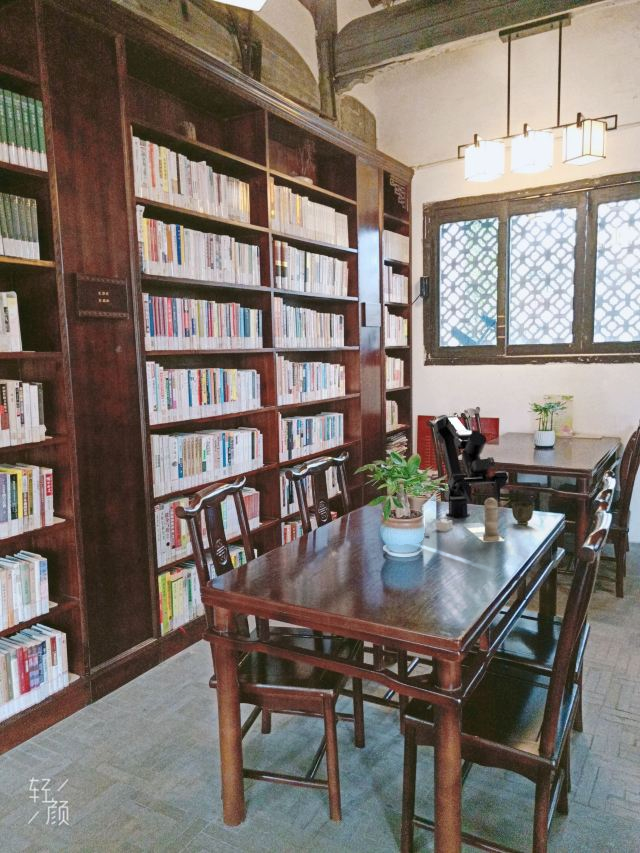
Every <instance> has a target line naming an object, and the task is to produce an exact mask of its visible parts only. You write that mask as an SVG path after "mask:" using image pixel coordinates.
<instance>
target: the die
mask: <svg viewBox="0 0 640 853" xmlns="http://www.w3.org/2000/svg"><path fill="white" fill-rule="evenodd" d="M435 530H436V531H441V532H448V531H451V530H453V520H452V519H446V518H445V519H444V518H441V519H439V520H436V521H435Z"/></svg>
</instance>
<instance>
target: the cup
mask: <svg viewBox="0 0 640 853" xmlns="http://www.w3.org/2000/svg"><path fill="white" fill-rule="evenodd" d="M534 507H535V502H533V501H532V502H531V503H530V502H529V501H525V500H522V501H521V500H518V501H512V502H511V511H512V516H513V519H514V520H515V521H516V524H517V525H520V526H523V527H527V526H528V525H529V521H531V520H532V517H533V514H534Z"/></svg>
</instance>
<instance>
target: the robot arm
mask: <svg viewBox="0 0 640 853" xmlns="http://www.w3.org/2000/svg"><path fill="white" fill-rule="evenodd" d="M433 432H434V434H435V436H436V439H437V441H439V442H440V443H441V444H442V447H443V451H444V452H443V453H444V456H445V461H446V465H447V470H448V475H449V478H448V481H447V483H446V485H447V484H448V487H449V491H444V499H445V500H446V501H447V502H448V513H447V512H446V513H445V515H446V516H447V517H452V518H456V519H461V518H465V517H469V516H471V515H470V513H468V503H470V504H473V498H472V491H473V488H472V485H471V484H475V485H476V484H488V483H490V484H491V486H492V492H493V494H494V497H495V500H496V501H497V502H498V503H499V502H500V500H501V489H502V488H503V487H505V485H506V483H507V481H508V480H509V475H508V473H507V472H506V471H494V472H493V475H491V476H487V475H488V474H489V470H490V469H491V468H494V467H495V466H496V461H495V459H494V457H490V456H488V457H487V458H482V459H481V456H480V455H481V454H482V453H483V450H484V449H485V446H486V443H487V437H486V436H485V435H484V434H483V433H481V432H479V431H478V429H473V430H469V429H466V427H465V426H464V425H463V424H462V422H461V421H460V419H459V417H458V415H455V414H453V415H451V414H450V415H445V416H443V417H442V418H441V419H439V420H437V421H436V422H435V423H434V425H433ZM458 450H459V451H460V450H462V452H461V460H462V461H463V464H464V466H465V469H464V470H465V473H463V472H462V469H461V464H460V459H459V455H458V452H457V451H458ZM467 501H468V502H467Z"/></svg>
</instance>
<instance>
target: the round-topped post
mask: <svg viewBox="0 0 640 853" xmlns="http://www.w3.org/2000/svg"><path fill="white" fill-rule="evenodd" d="M483 505H484V525H485V533H484V534H483V539H484V540H486V541H498V540H499V537H500V534H499V531H498V530H499V528H498V527H499V526H498V525H499V524H498V523H499V522H498V520H499V519H498V518H499V517H498V516H499V515H498V509H499V508H498V507H499V502H498V501H497V500H496V498H494V497H488V498H486V499H485V500H484V503H483ZM498 542H499V541H498Z"/></svg>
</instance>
